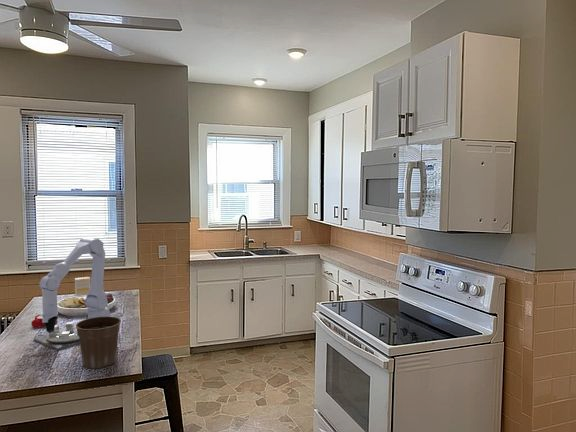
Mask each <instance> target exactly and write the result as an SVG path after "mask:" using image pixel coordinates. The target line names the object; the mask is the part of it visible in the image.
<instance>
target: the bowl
mask: <svg viewBox="0 0 576 432" xmlns="http://www.w3.org/2000/svg"><path fill="white" fill-rule="evenodd" d="M86 297H87V295H83V296H76V297H75V296H72V297H71V296H70V297H67V298H64V299H60V300H57V311H58V314H60V315H64V316H68V317H86V316H87V317H88V307H87V306H86V305H85V299H86ZM106 298H107V301H108V303H107V306H106V307H107V308H108V309H109V311H110V310H112V309H113V308H114V307H115V305H116V297H114V295H113V294H112V293H110V292H109V293H106Z"/></svg>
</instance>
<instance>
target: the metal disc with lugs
mask: <svg viewBox="0 0 576 432" xmlns="http://www.w3.org/2000/svg"><path fill="white" fill-rule="evenodd" d="M45 335H46V340H47V341H48V342H52V343H68V342H74V341H78V340H80V339H79V336H78V331H77V328H76V326H75V324H74V321H67V322H66V323H65V327H62V328H60V325H56V324H55V328H54V330H51V331H47V330H46V334H45Z"/></svg>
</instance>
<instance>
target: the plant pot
mask: <svg viewBox="0 0 576 432" xmlns="http://www.w3.org/2000/svg"><path fill="white" fill-rule="evenodd" d="M121 323H122V319H120V318H119V317H116V316H110V317H94V318H89V319H88V318H86V319H83V320H80V321H78V322H77V323H76V324H75V327H76V328H77V331H78V336H79V339H80V344H79V345H80V346H79V347H80V353H81V361H82V366H83V367H85V368H87V369H91V368H93V369H94V370H95V369H97V370H98V369H102V368H105V367H106V366H112V365H113V364H115V363H116V362H117V356H118V354H117V353H118V343H119V332H120V326H121Z"/></svg>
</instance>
